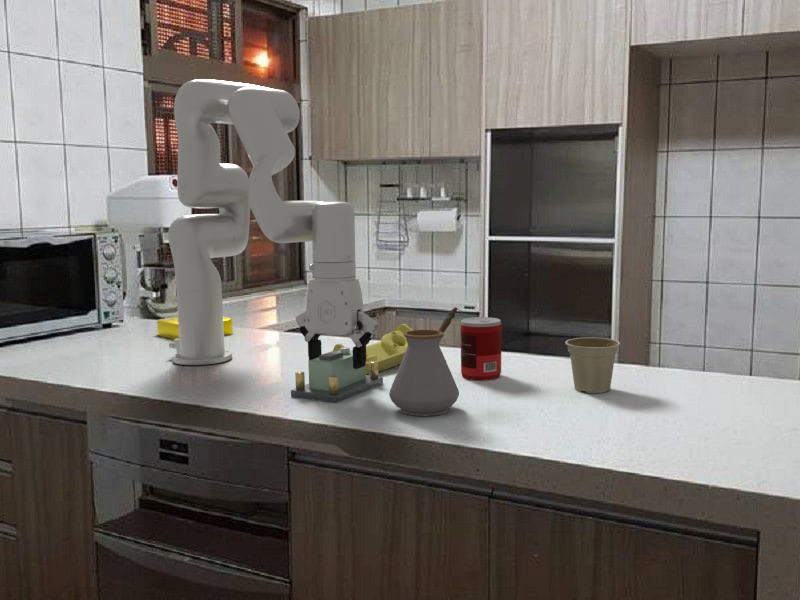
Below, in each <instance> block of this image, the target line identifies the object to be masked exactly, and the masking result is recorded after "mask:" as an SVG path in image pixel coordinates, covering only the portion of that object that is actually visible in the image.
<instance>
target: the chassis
mask: <svg viewBox="0 0 800 600" xmlns="http://www.w3.org/2000/svg"><path fill="white" fill-rule="evenodd" d="M369 364H370V375H366V378H365V379H363V380H360V381H357V382H355V383H352V384H350V385H347V386H345V387H342V388H340V389H338V376H329V391H326V390H319V389H311V388H309V383H307V384H305V381H306V380H305V371H296V372H295V373H294V374H295V375H294V376H295V378H294V379H295V388H293V389H290V397H291V398H292V397H293V398H298V399H306V400H312V399H314V400H315V401H319V400H320V401H319V402H328V403H334V404H336V402H337V403H339V402H342V401H343V399H344V400H346V399H348V397H349V398H350V397H353V396H355V394H356V395H358V394H361V393H363V392H365V391H367V389H368V390H371V389H373V388H375V387H377V385H378V386H380V385H382V384H384V378H383V376H379V372H378V361H370V362H369ZM381 383H382V384H381ZM379 384H380V385H379ZM374 386H375V387H374ZM372 387H373V388H372ZM362 391H363V392H362ZM360 392H361V393H360ZM357 393H358V394H357ZM314 400H313V401H314Z"/></svg>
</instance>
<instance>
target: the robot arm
mask: <svg viewBox="0 0 800 600" xmlns="http://www.w3.org/2000/svg"><path fill="white" fill-rule="evenodd" d="M173 103H174V104H173V114H174V115H173V116H174V122H175V128H176V132H177V141H178V143H177V144H178V146H177V147H178V148H177V149H178V150H177V175H176V176H177V177H176V180H177V182H176V183H177V184H176V186H177V187H176V188H177V189H176V190H177V196H178V200H179V202H180V203H181V204H182V205H183V206H185V207H187V208H191V209H218V211H219V213H201V214H200V213H198V214H196V213H194V214H186V215H181V216H179V217H177V218H175V220H173V221H172V223H170V226H169V227H168V233H167V235H168V237H167V239H168V244H169V248H170V252H171V257H172V261H173V267H174V275H175V289H176V304H177V317H178V326H179V339H172V341H170V342H169V344H168V347H169V349H175V350H176V353H175V354H174V355H173V356H172V362H173V363H175V364H177V365H182V366H206V365H215V364H219V363H224V362H229V361H230V360H231V359H232V358H233V352H231V351H230V350H226V349H225V335H224V327H223V317H224V313H223V292H222V291H223V290H222V289H223V288H222V278H221V276H220V273H219V270H218V269H217V267H216V266H215V264H214V263H213V261H212V259H215V258H226V257H234V256H237V255H240V254H243V252H244V250H245V249H246V247H247V246H248V243H249V242H248V241H249V235H250V221H251V219H250V218H251V217H250V216H251V212H252V214H253V216H254V219H255V220H256V223H257V224H258V226H259V228H260V230H261V232H262V233H263V235H264V236H265V237H266V238H267V239H269V240H270V241H271V242H273V243H276V244H290V243H301V242H302V243H305V242H306V243H307V242H312V257H313V258H312V260H313V263H310V264H309V266H308V270H309V271H310V272H313V278H310V279H309V283H308V288H307V293H306V294H307V295H306V305H305V306H306V307H305V311H303V312H302V313H300V314H298V315H296V316H295V321H296V324H297V326H298V328H299V332H300V333H301V335H302V336H303V338H304V341H305V342H306V343H307V355H308V361H309V360H312V359H315V358H319V355H322V354H323V353H322V341H321V340H322V339H319V338H320V337H321V336H322V335H324V336H331V337H332V336H334V337H349V338H350V340H351V342H353V344H354V346H353V347H352V351H353V368H354V369H359V368H361V367H364V366H365V365H366V346H368V345H370V342H371V340H372V339H373V338H374V337H375V334H376V332H377V329H378V327H379V322H378V321H377V320H375V319H374V318H372V317H370V316H369V315H368V314H366V313H365V312H364V311H365V310H364V302H363V294H362V289H361V284H360V281H359V278H357V276H356V275H357V273H356V272H357V271H356V270H357V267H356V266H357V265H356V263H357V262H356V229H355V228H356V225H355V224H356V222H355V220H356V219H355V208H354V206H353V204H352V203H350V202H349V201H348V202H347V201H322V200H282V199H281V197H280V196H279V193H278V191H277V189H276V188H275V184H274V182H273V177H272V176H274V175H275V174H278V173H279V172H281V171H283V170H284V169H285V168H287V167H288V166H289V165H290V164H291V163H292V161H293V160H294V158H295V156H296V149H295V146H294V144H293V143H292V141H291V139H290V136H289V135H288V133H291V132H293V131H294V130H295V129H296V128H297V127H298V125H299V121H300V116H301V115H300V113H301V111H300V108H299V104H298V102H297V100H296V99H295V98H294V96H293V95H292V94H291V93H290V92H288V91H286V90H283V89H276V88H270V87H266V86H260V85H256V84H252V83H251V84H250V83H243V82H236V81H235V82H234V81H227V80H218V79H207V78H206V79H205V78H204V79H203V78H201V79H192V80H189V81H186V82H185V83H183V84H182V85H181V86H180V87H179V89H178V91H177V93H176V96H175V98H174V102H173ZM212 124H222V125H233V126H234V128H235V131H236V133H237V136H238V137H239V139H240V142H241V144H242V146H243V147H244V149H245V151H246V153H247V156H248V158H249V160H250V162H251V164H252V168H251V169H252V170H251V172H250V175H249V176H248V174H247V172H246V171H245V170H244V169H243V168H242V167H241V166H239V165H238V164H234V163H221V158H220V157H221V142H220V140H219V137H218V134H217V132H216V130H215V128H213V126H212ZM365 326H366V330H365V332H364V331H363V330H364V328H365Z"/></svg>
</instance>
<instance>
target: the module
mask: <svg viewBox="0 0 800 600" xmlns="http://www.w3.org/2000/svg"><path fill="white" fill-rule="evenodd" d="M307 362H308V363H307V364H308V365H307V367H308V384H309V388H311V389H319V390H326V391H329V376H338V389H340V388H342V387H345V386H347V385H350V384H352V383H355V382H357V381H360V380H363V379H365V378H366V365H365V366H364V367H361V368H359V369H354V368H353V350H352V349H350V347H346V346H344V348H340V351H337V352H333V350H332V351H328V352H325V353H322V355H319V358H315V359H312V360H309V359H308V361H307Z"/></svg>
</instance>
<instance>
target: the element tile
mask: <svg viewBox="0 0 800 600" xmlns="http://www.w3.org/2000/svg"><path fill="white" fill-rule="evenodd" d="M156 322H157V323H156V325H157V326H156V327H157V335H158V336H160V337H163V338H166V339H167V338H168V339H172V340H174V339H179V326H178V316H175V317H168V318H167V317H166V318H160V319H158V320H157V321H156ZM223 327H224V336H228V335H232V334H233V333H234V332H233V330H234V329H233V318H231V317H227V316H223Z"/></svg>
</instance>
